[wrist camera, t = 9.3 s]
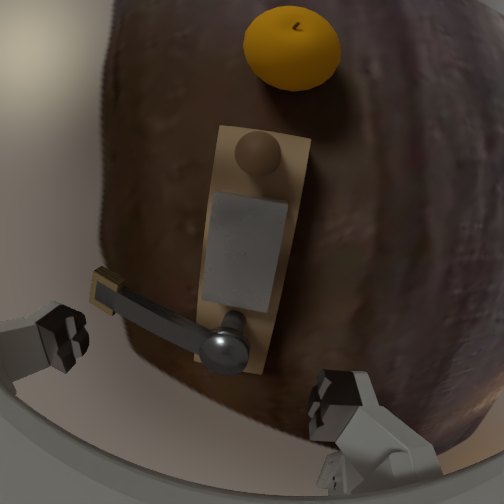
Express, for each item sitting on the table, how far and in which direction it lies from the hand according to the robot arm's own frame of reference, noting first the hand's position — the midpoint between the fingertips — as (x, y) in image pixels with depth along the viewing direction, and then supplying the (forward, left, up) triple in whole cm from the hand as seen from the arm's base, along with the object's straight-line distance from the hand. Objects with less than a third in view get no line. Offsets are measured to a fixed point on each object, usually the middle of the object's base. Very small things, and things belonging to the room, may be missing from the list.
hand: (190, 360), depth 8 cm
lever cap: (0, 0, -14) cm, 14 cm away
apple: (+17, -1, -19) cm, 25 cm away
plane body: (-2, 0, -18) cm, 18 cm away
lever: (-6, +5, -10) cm, 13 cm away
